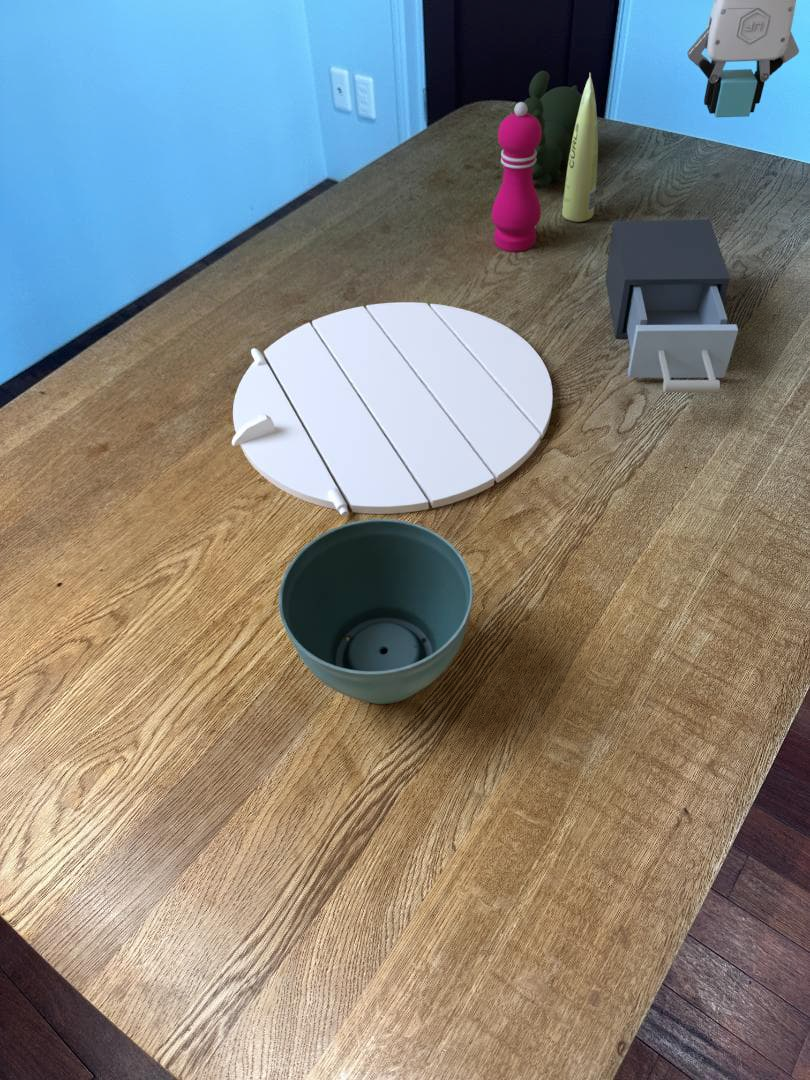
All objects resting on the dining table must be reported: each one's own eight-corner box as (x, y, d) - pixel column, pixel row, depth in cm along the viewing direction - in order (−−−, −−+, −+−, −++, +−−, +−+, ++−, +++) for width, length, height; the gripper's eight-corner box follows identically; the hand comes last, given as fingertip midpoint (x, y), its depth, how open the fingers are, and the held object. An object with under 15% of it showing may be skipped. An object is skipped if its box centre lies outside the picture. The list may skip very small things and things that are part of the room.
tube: (552, 213, 129) (563, 80, 115) (576, 203, 131) (590, 70, 116) (576, 226, 126) (590, 91, 111) (601, 216, 128) (618, 81, 113)
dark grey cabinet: (714, 338, 105) (730, 278, 99) (615, 338, 106) (624, 279, 100) (696, 277, 115) (709, 219, 108) (605, 278, 116) (613, 220, 109)
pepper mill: (482, 246, 124) (484, 107, 109) (506, 225, 127) (511, 88, 112) (523, 258, 121) (531, 117, 106) (547, 236, 124) (558, 97, 109)
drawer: (736, 416, 94) (751, 368, 88) (635, 416, 95) (644, 368, 89) (705, 314, 107) (717, 267, 102) (617, 315, 108) (625, 268, 103)
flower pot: (485, 605, 79) (487, 530, 71) (454, 755, 69) (453, 689, 61) (327, 581, 82) (311, 507, 74) (275, 722, 72) (250, 654, 64)
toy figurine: (552, 213, 132) (597, 137, 145) (559, 94, 117) (609, 20, 130) (498, 205, 135) (547, 130, 148) (498, 87, 120) (552, 15, 133)
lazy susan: (286, 564, 84) (280, 543, 81) (193, 362, 108) (186, 340, 106) (616, 443, 93) (620, 420, 90) (462, 281, 117) (462, 260, 115)
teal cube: (743, 103, 117) (751, 68, 114) (749, 116, 114) (757, 81, 111) (710, 104, 118) (717, 70, 114) (715, 117, 115) (722, 82, 111)
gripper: (698, -33, 101) (671, 121, 114) (842, -39, 99) (797, 118, 112) (690, -49, 106) (665, 100, 119) (827, -56, 104) (786, 97, 117)
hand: (730, 107), depth 116 cm, fingers closed on teal cube, 4 cm apart
